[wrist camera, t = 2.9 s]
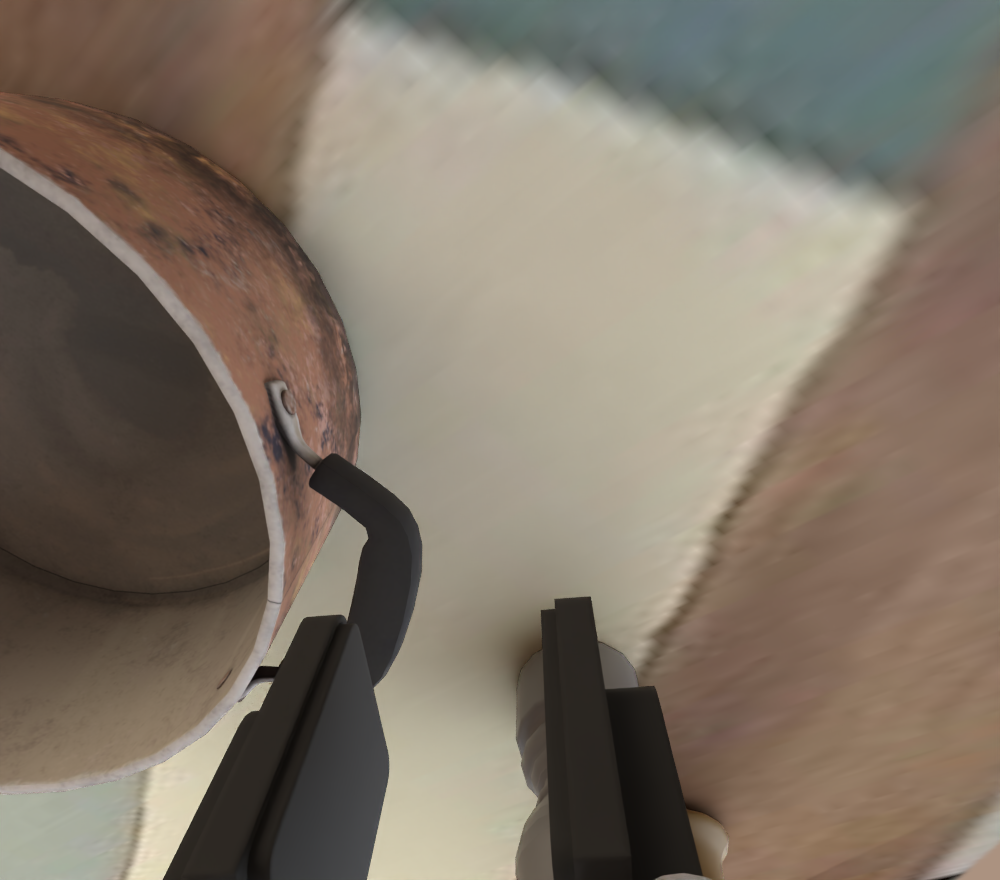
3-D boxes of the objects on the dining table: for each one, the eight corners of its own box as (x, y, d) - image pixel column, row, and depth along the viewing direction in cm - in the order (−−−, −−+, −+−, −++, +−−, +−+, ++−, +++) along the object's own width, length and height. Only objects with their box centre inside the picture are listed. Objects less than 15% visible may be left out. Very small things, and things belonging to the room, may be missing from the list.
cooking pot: (512, 223, 26) (506, 266, 16) (395, 666, 34) (343, 873, 24) (-318, -14, 24) (-923, -134, 14) (-223, 523, 32) (-554, 687, 22)
